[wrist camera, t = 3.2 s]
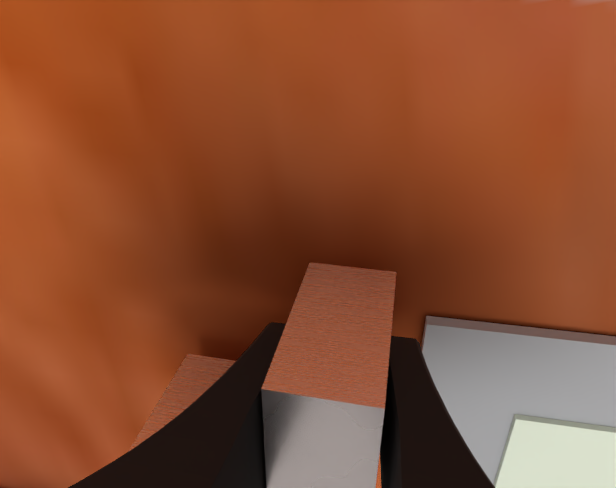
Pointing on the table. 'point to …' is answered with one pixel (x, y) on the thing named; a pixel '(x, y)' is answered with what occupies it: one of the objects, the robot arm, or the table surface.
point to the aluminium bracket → (314, 382)
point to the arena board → (528, 400)
